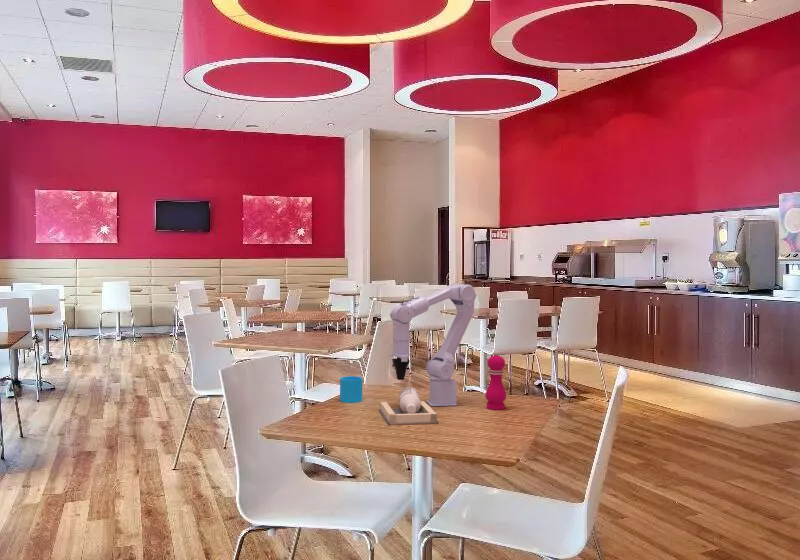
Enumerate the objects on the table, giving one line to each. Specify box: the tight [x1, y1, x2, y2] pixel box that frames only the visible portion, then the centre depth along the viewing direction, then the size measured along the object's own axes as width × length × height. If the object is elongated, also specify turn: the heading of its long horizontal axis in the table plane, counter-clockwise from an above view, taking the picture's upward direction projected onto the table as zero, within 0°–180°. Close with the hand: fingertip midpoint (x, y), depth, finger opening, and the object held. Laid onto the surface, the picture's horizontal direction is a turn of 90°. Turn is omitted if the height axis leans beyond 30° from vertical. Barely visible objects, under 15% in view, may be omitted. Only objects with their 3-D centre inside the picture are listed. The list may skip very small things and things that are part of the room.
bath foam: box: [398, 386, 421, 414], centre depth 226 cm, size 7×7×20 cm
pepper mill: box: [484, 350, 507, 411], centre depth 238 cm, size 7×7×20 cm
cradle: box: [378, 400, 439, 426], centre depth 224 cm, size 16×20×3 cm
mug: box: [339, 375, 363, 404], centre depth 250 cm, size 12×8×8 cm
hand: (400, 379), depth 236 cm, fingers closed
